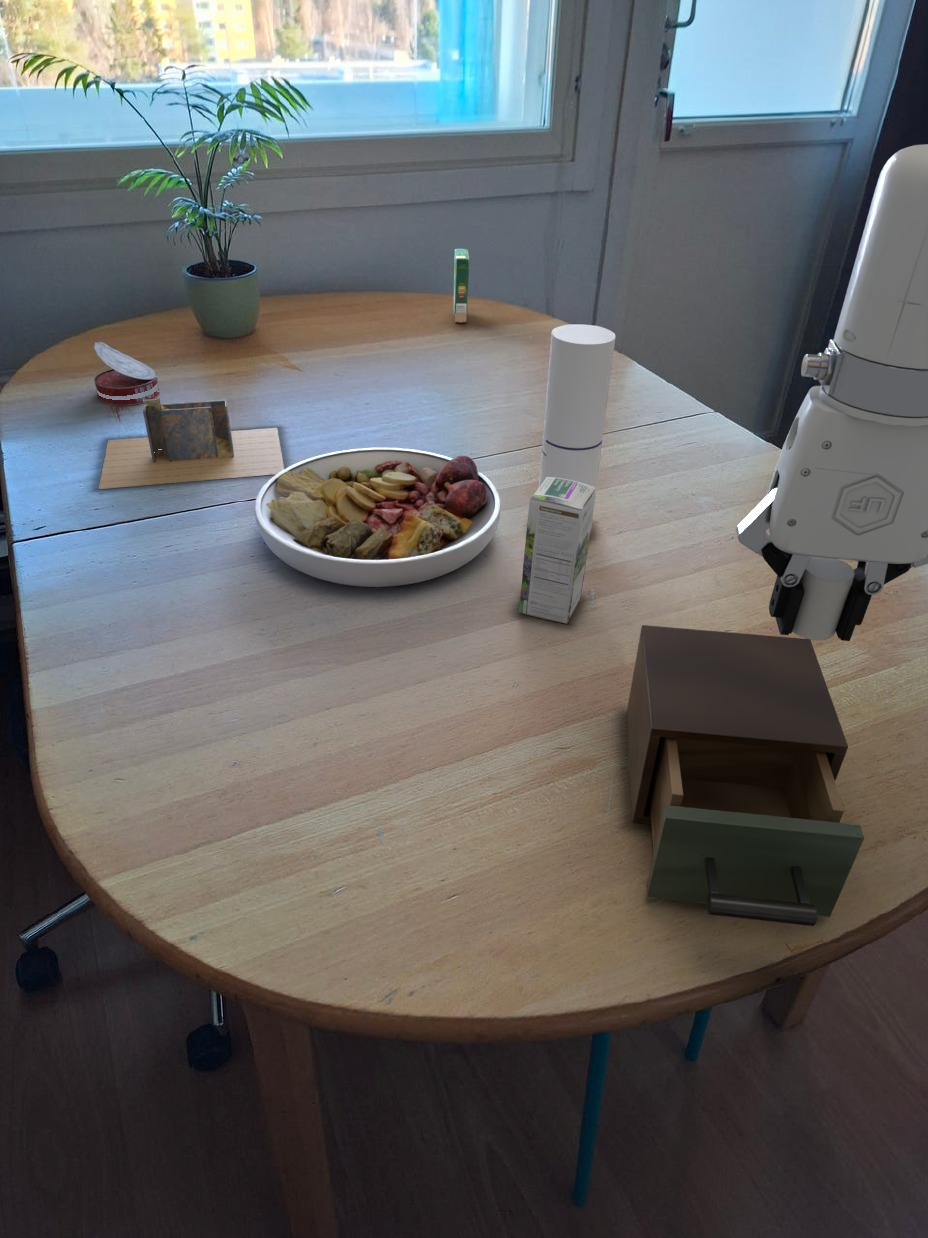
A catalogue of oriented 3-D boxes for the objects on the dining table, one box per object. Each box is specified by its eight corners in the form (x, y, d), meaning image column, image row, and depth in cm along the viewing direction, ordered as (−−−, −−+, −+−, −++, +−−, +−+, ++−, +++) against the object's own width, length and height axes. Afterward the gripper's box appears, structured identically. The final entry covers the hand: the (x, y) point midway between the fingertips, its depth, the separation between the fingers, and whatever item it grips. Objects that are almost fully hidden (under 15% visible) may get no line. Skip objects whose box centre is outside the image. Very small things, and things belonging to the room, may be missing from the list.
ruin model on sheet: (98, 489, 118) (81, 421, 113) (108, 440, 131) (93, 376, 125) (285, 473, 123) (278, 407, 118) (277, 427, 136) (270, 366, 131)
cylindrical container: (560, 548, 108) (581, 348, 94) (524, 524, 113) (538, 330, 99) (602, 532, 112) (628, 337, 97) (565, 509, 117) (585, 320, 102)
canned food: (126, 410, 152) (131, 351, 151) (170, 415, 148) (176, 354, 147) (72, 399, 142) (77, 336, 141) (118, 404, 138) (123, 339, 136)
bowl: (325, 630, 93) (319, 568, 89) (222, 513, 113) (214, 458, 109) (546, 554, 107) (552, 497, 103) (420, 462, 127) (420, 411, 123)
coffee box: (467, 323, 182) (469, 257, 174) (454, 323, 182) (455, 257, 174) (466, 312, 188) (468, 248, 181) (453, 312, 188) (454, 247, 181)
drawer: (845, 972, 61) (883, 892, 56) (650, 950, 62) (670, 870, 57) (796, 792, 74) (824, 715, 69) (638, 777, 76) (653, 700, 70)
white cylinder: (829, 615, 64) (848, 557, 61) (839, 643, 62) (860, 583, 59) (782, 611, 65) (799, 553, 62) (790, 638, 62) (808, 578, 59)
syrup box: (533, 587, 101) (543, 473, 93) (583, 599, 99) (597, 484, 91) (518, 613, 97) (526, 496, 88) (569, 626, 95) (583, 508, 87)
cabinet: (812, 841, 71) (848, 746, 65) (632, 822, 72) (651, 728, 66) (781, 728, 82) (810, 638, 76) (626, 714, 83) (641, 624, 77)
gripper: (759, 391, 50) (699, 646, 61) (1061, 414, 49) (945, 671, 59) (742, 349, 56) (690, 588, 67) (1009, 368, 55) (913, 609, 65)
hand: (811, 624), depth 63 cm, fingers closed on white cylinder, 3 cm apart
